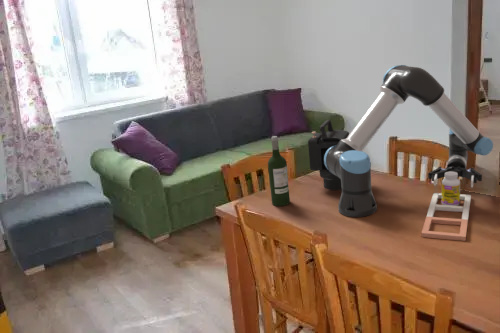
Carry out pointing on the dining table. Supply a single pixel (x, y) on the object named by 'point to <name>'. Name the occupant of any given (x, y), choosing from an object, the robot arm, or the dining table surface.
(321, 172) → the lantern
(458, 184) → the supplement bottle
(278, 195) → the wine bottle
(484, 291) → the dining table surface
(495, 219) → the dining table surface
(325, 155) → the robot arm
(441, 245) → the dining table surface
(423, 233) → the rack
